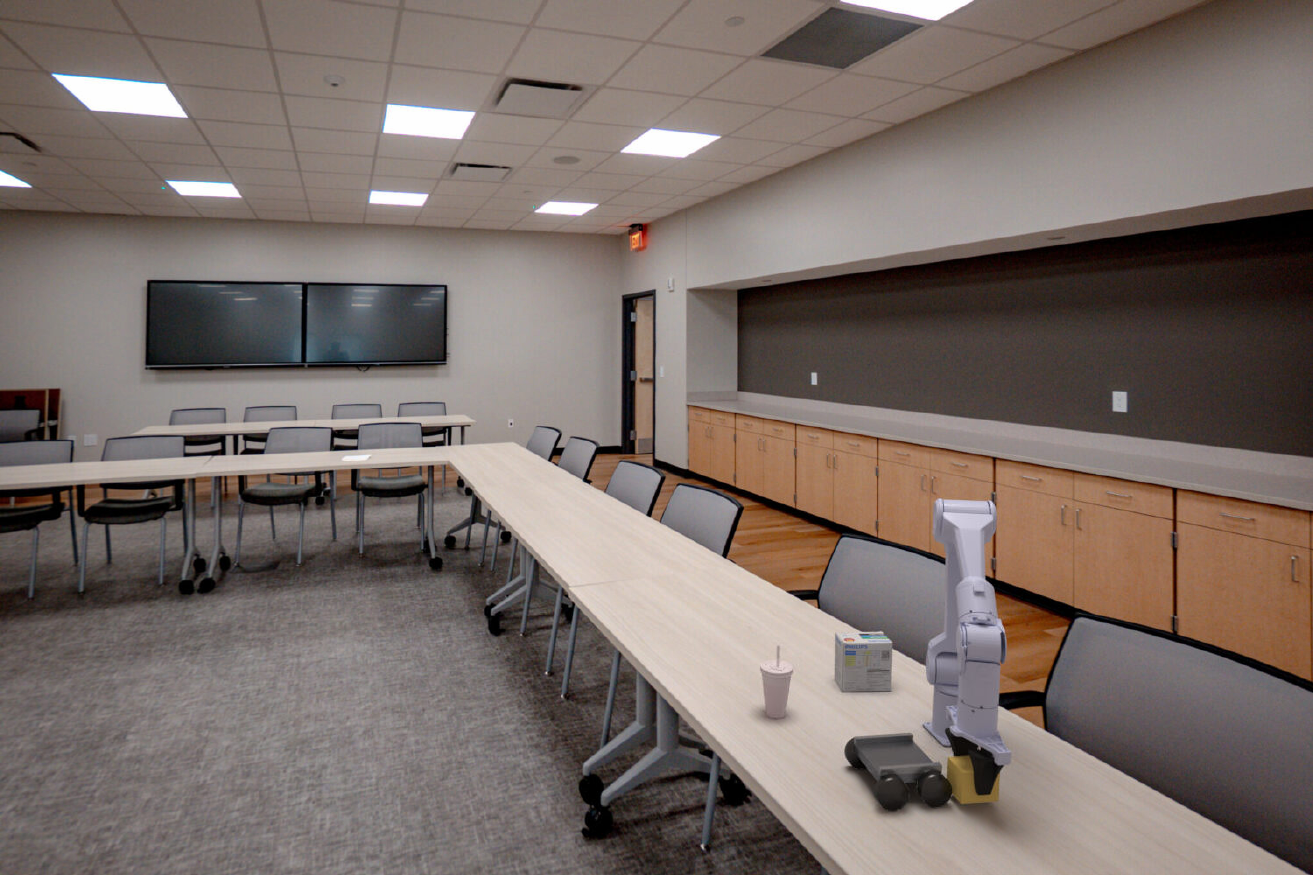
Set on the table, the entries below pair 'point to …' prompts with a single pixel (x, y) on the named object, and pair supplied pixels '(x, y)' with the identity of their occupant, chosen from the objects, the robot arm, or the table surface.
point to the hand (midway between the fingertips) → (973, 784)
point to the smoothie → (776, 685)
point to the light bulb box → (863, 661)
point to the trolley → (898, 769)
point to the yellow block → (967, 781)
